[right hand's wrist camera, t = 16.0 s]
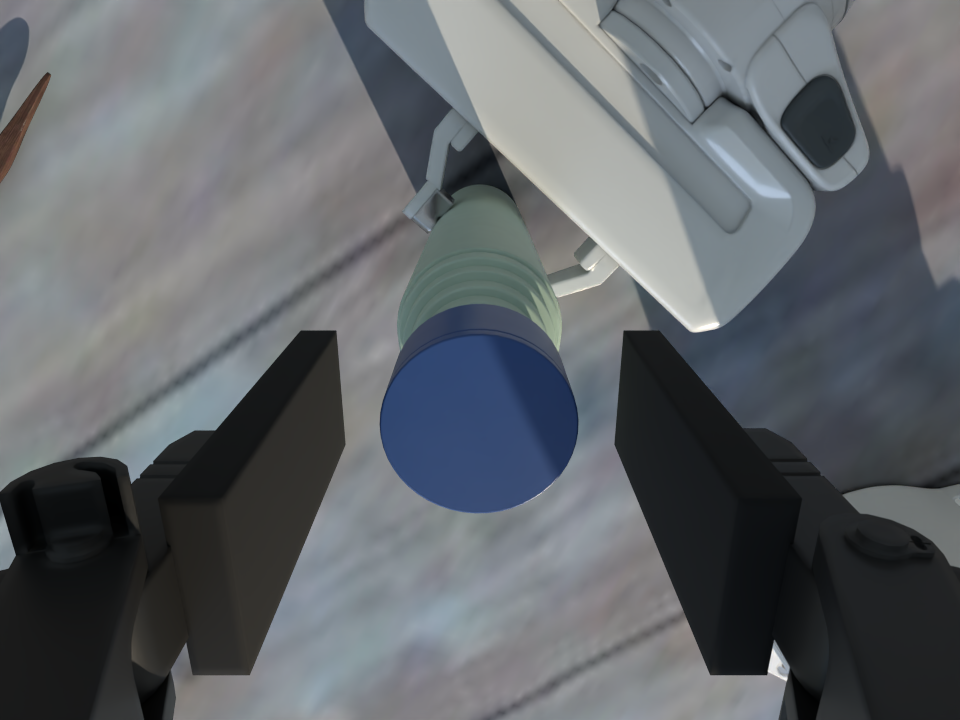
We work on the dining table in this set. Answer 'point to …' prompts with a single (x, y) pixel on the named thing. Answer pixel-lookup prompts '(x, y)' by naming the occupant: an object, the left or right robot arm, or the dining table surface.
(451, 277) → the bottle
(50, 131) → the dining table surface
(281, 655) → the dining table surface
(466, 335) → the cap
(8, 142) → the fork
